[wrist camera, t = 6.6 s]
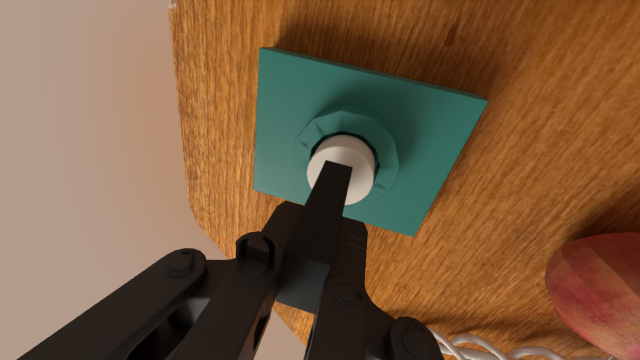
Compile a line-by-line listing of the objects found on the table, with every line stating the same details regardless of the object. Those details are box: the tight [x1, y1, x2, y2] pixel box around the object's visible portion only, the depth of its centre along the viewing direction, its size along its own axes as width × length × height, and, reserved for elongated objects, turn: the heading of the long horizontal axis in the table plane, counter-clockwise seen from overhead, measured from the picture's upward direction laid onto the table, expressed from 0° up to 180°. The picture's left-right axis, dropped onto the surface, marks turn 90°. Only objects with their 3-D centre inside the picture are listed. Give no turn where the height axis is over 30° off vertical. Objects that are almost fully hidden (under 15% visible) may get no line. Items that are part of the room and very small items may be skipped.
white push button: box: [307, 135, 375, 205], centre depth 15 cm, size 4×4×2 cm
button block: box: [253, 47, 488, 237], centre depth 17 cm, size 14×11×4 cm
